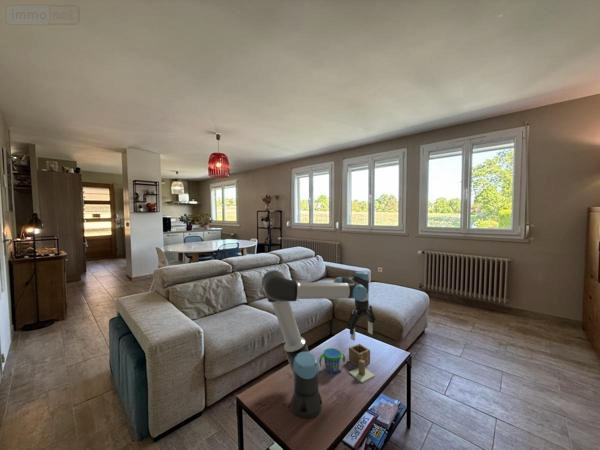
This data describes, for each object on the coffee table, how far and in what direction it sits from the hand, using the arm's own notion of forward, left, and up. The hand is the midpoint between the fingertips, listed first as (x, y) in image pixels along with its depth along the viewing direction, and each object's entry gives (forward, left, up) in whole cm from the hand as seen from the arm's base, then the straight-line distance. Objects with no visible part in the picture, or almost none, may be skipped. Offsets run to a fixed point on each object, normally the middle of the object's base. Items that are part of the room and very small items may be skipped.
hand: (361, 336), depth 142 cm
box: (+8, +10, -22) cm, 26 cm away
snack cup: (-11, +13, -23) cm, 28 cm away
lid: (0, 0, -23) cm, 23 cm away
